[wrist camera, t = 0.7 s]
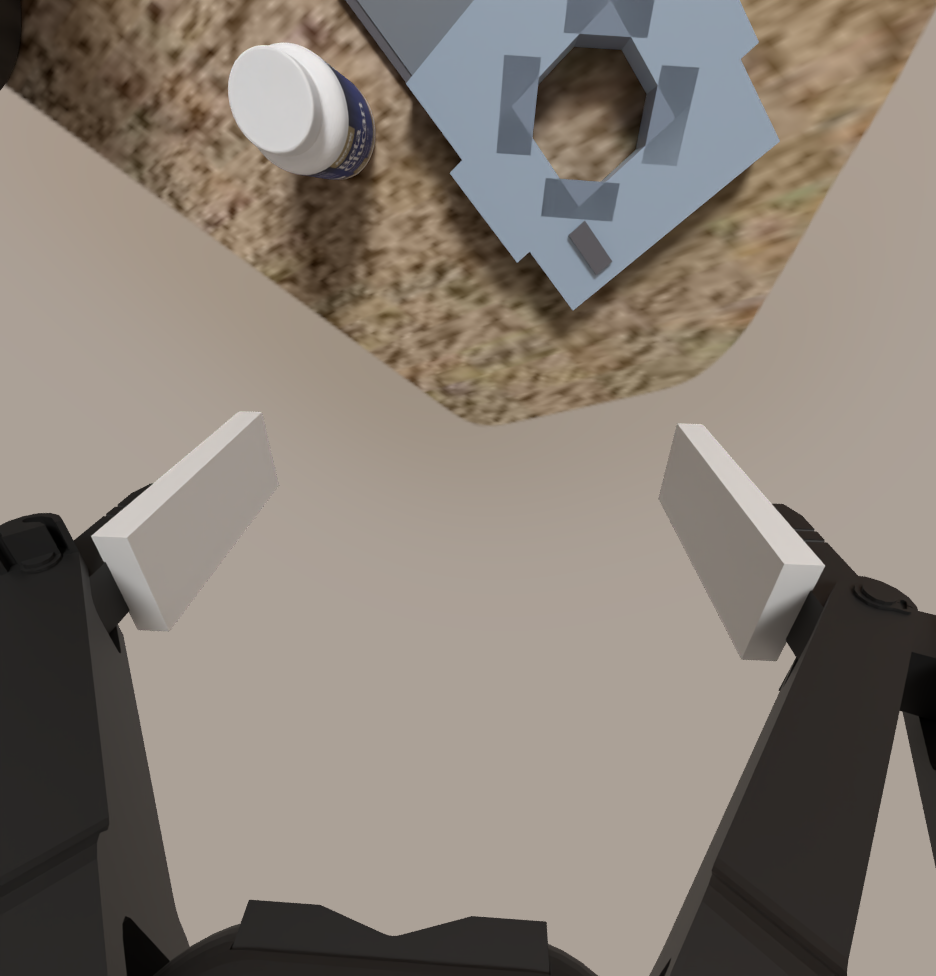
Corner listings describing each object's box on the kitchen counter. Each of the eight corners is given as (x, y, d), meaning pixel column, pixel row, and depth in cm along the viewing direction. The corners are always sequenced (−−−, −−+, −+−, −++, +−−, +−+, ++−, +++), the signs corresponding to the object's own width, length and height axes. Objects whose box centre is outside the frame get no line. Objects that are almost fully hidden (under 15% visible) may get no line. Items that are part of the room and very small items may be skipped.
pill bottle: (374, 187, 32) (327, 182, 24) (293, 172, 32) (217, 161, 24) (380, 83, 29) (329, 35, 21) (292, 66, 29) (204, 11, 21)
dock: (401, 106, 30) (392, 97, 27) (630, -171, 24) (645, -214, 21) (557, 313, 35) (561, 321, 33) (776, 132, 29) (800, 125, 27)
